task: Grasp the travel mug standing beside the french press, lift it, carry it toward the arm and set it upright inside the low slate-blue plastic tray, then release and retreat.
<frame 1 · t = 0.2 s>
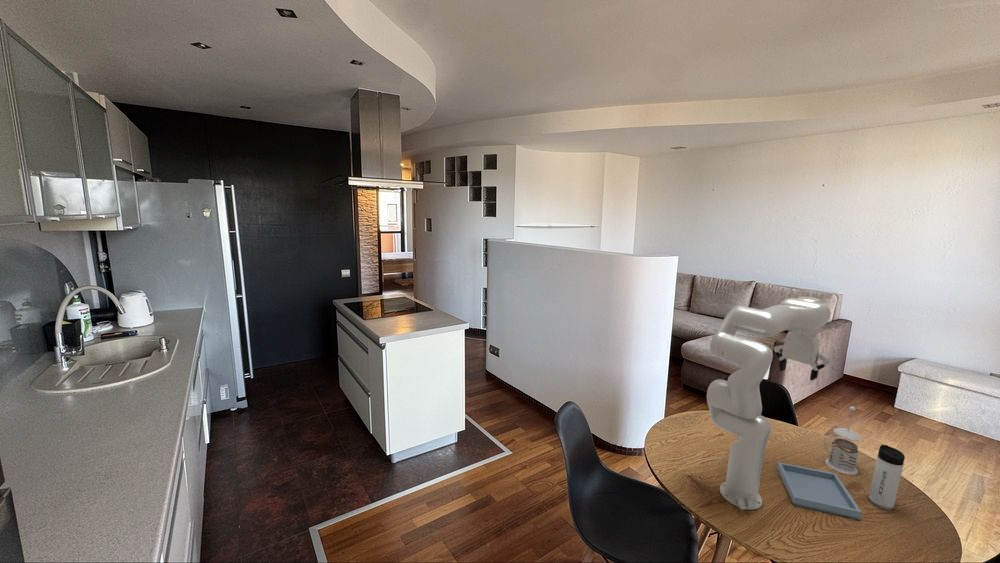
hand: (797, 374, 149), 37 cm above the table, tool pointing down, fingers open, 9 cm apart
tray: (814, 492, 140), on the table
travel mug: (880, 503, 136), on the table
french press: (838, 466, 155), on the table
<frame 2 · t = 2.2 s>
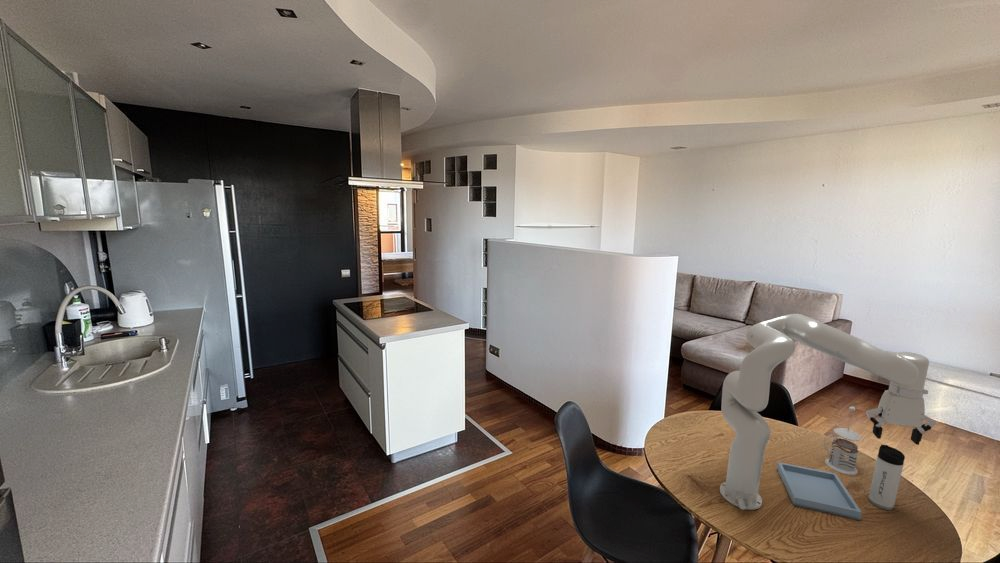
hand: (895, 439, 131), 24 cm above the table, tool pointing down, fingers open, 9 cm apart
nothing on the table moved.
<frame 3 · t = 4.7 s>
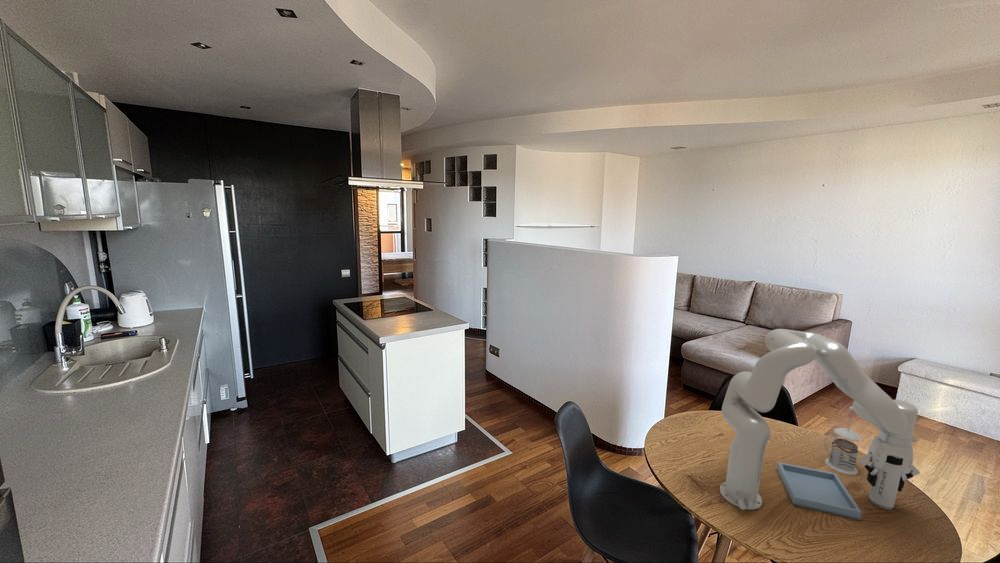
hand: (884, 485, 134), 7 cm above the table, tool pointing down, fingers closed on travel mug, 6 cm apart
travel mug: (880, 503, 136), on the table, touching gripper
everything else where it was.
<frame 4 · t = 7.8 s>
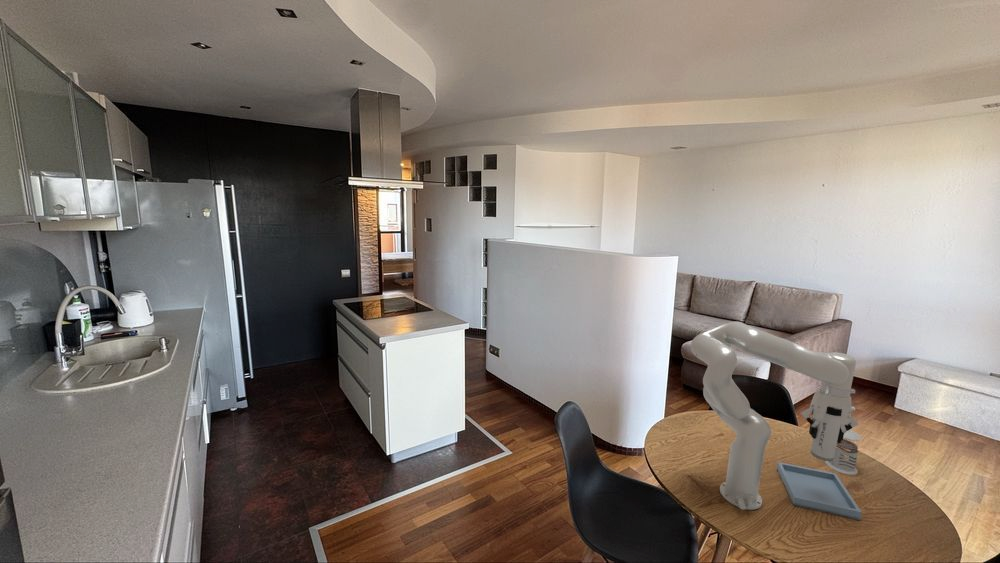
hand: (825, 438, 136), 21 cm above the table, tool pointing down, fingers closed on travel mug, 6 cm apart
travel mug: (821, 456, 137), point 14 cm above the table, touching gripper
everything else where it was.
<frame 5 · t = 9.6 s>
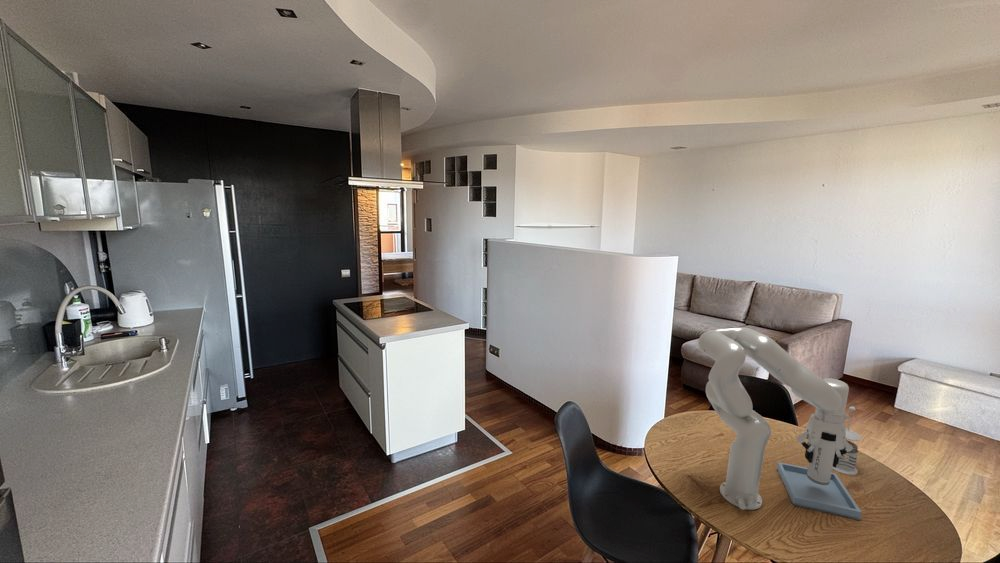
hand: (820, 462, 138), 12 cm above the table, tool pointing down, fingers closed on travel mug, 6 cm apart
travel mug: (817, 479, 139), point 5 cm above the table, touching gripper
everything else where it was.
when the fingers open (9 cm above the table, at t = 11.1 s): travel mug drops 2 cm, resting on tray.
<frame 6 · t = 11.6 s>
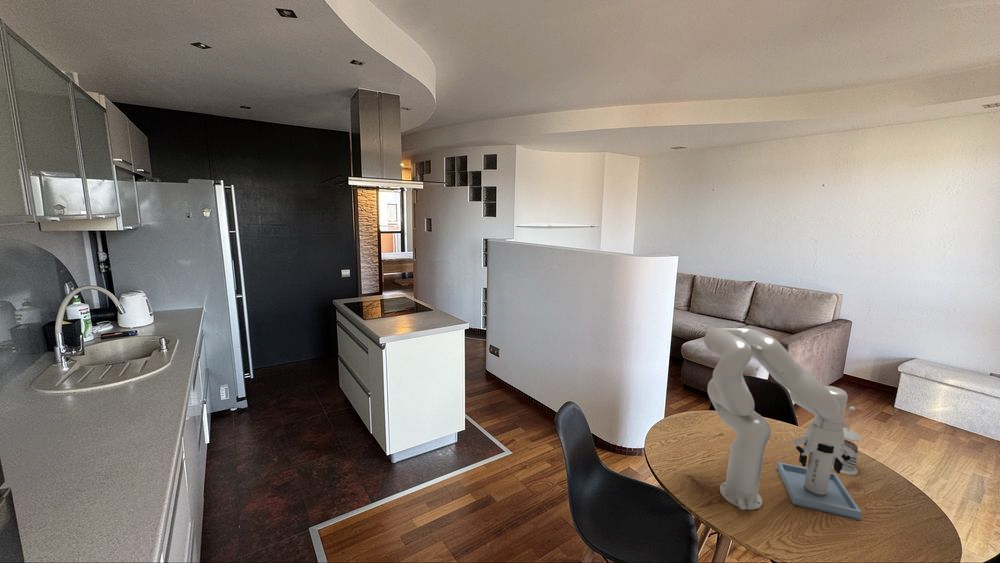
hand: (819, 467, 138), 10 cm above the table, tool pointing down, fingers open, 9 cm apart
travel mug: (814, 490, 140), point 1 cm above the table, touching tray
everything else where it was.
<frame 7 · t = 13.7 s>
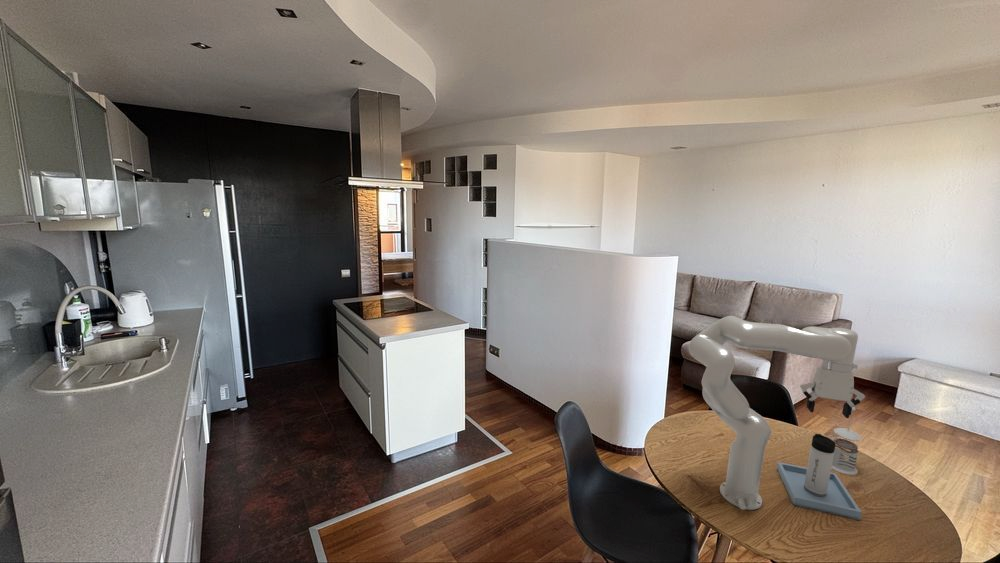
hand: (827, 413, 135), 30 cm above the table, tool pointing down, fingers open, 9 cm apart
nothing on the table moved.
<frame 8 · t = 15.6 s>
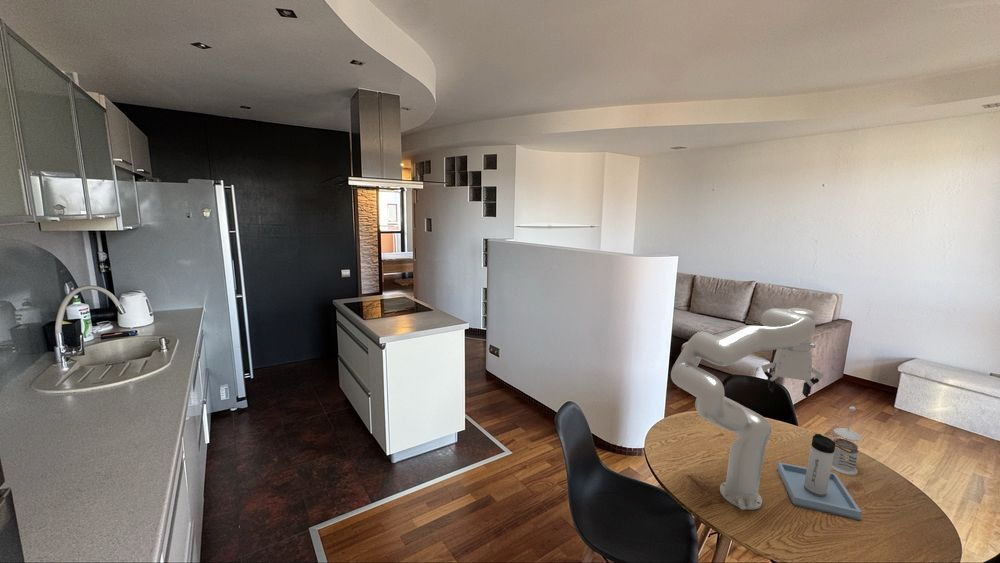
hand: (788, 392, 136), 36 cm above the table, tool pointing down, fingers open, 9 cm apart
nothing on the table moved.
at the end: travel mug inside the target area on the tray (0.2 cm from its centre), point 0.6 cm above the tray's base; travel mug tilted 0°; the gripper is holding nothing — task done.
